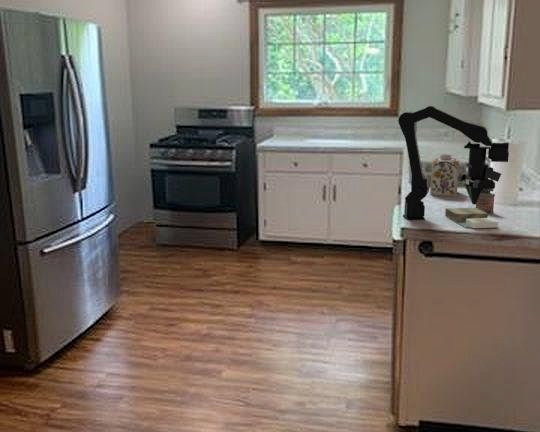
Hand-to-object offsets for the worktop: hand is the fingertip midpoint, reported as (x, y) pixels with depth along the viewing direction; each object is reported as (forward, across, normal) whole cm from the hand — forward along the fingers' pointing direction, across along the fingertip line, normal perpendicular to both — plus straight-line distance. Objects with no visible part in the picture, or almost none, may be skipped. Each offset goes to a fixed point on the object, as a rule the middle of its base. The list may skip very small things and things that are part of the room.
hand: (474, 204), depth 211 cm
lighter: (+7, +17, -12) cm, 22 cm away
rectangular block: (+4, -6, 0) cm, 8 cm away
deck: (+7, +6, 0) cm, 9 cm away
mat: (+7, -4, 0) cm, 8 cm away
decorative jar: (+7, +55, -10) cm, 56 cm away
